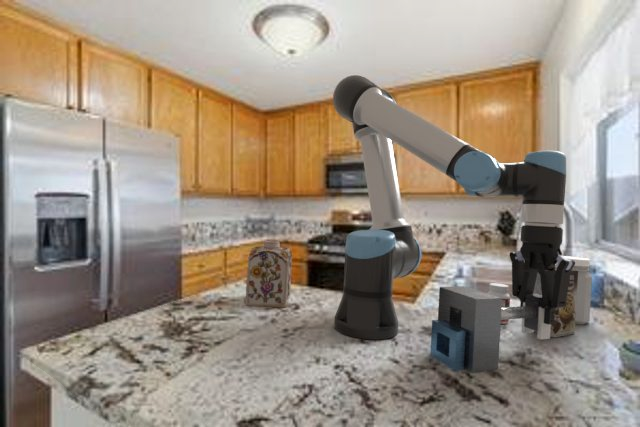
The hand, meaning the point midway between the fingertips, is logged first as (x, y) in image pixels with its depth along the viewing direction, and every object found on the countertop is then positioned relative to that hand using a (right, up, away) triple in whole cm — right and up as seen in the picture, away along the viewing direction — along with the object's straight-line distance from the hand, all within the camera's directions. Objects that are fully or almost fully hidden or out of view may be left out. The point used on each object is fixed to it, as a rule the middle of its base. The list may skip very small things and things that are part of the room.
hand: (535, 335), depth 74 cm
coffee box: (+13, -4, +14) cm, 20 cm away
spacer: (-22, -3, -8) cm, 23 cm away
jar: (+26, -5, +26) cm, 37 cm away
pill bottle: (+3, -4, +22) cm, 22 cm away
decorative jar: (-61, 0, +29) cm, 67 cm away
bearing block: (-17, -3, -6) cm, 19 cm away
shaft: (-8, +2, -3) cm, 9 cm away
